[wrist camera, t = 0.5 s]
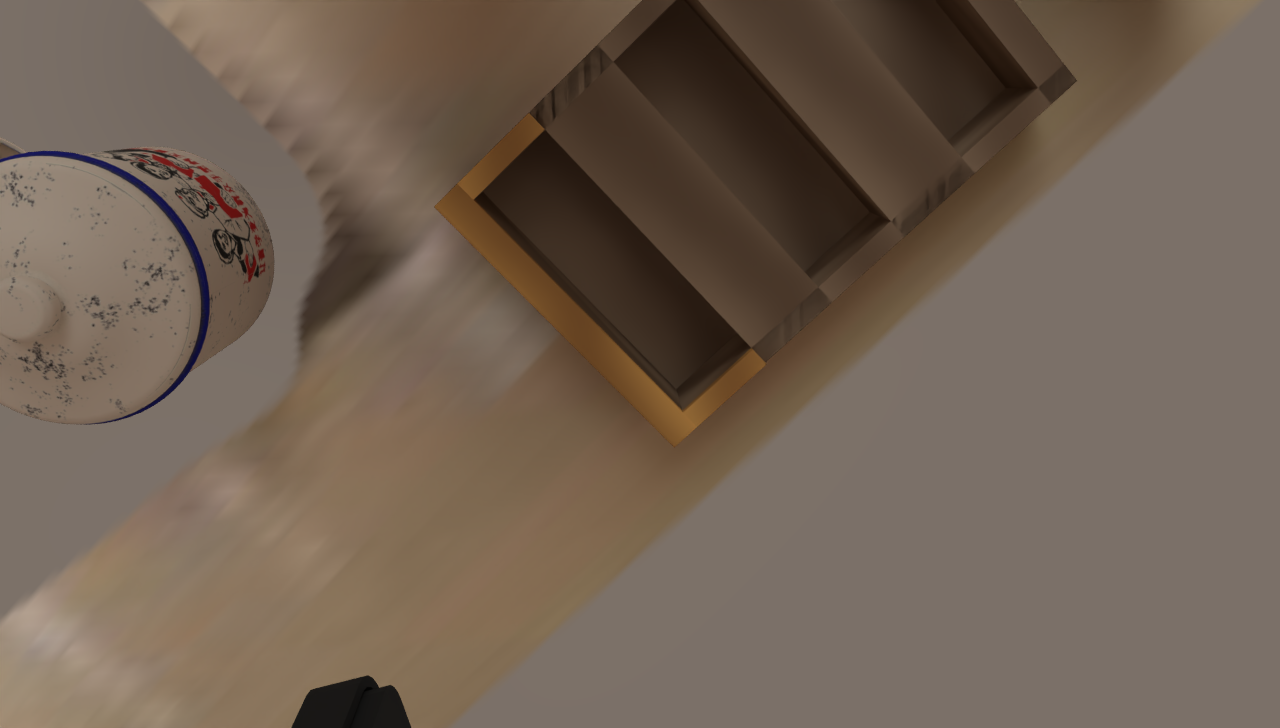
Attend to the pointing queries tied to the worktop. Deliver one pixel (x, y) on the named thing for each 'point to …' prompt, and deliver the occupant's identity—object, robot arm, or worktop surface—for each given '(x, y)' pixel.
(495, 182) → the rack
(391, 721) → the robot arm
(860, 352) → the worktop surface
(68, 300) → the teacup with lid
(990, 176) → the worktop surface
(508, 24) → the worktop surface
